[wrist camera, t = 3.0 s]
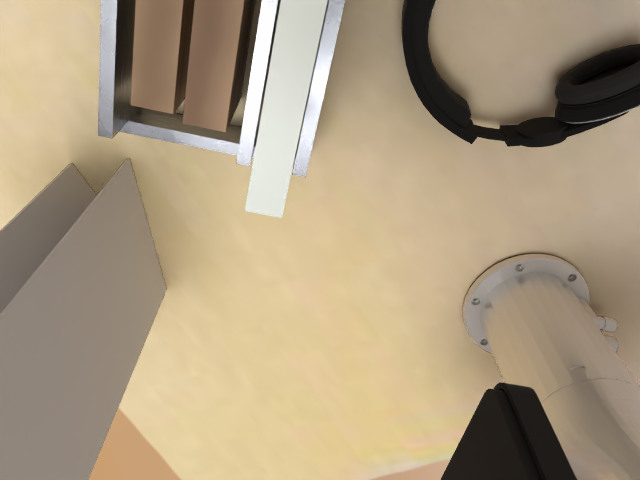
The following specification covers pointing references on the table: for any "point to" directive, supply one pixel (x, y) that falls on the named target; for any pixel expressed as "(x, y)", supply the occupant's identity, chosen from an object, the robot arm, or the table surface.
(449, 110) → the headphones
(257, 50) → the rack
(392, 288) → the table surface
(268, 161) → the pale grey panel
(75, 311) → the brochure
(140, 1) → the offcut short
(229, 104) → the offcut tall
